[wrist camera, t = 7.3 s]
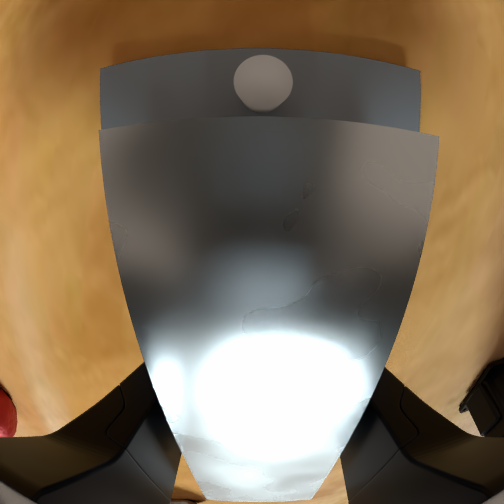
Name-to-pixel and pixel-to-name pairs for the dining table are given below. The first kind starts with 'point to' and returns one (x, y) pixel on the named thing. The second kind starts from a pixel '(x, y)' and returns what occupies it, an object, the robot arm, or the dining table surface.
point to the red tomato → (7, 416)
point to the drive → (266, 282)
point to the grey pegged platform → (260, 88)
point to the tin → (181, 501)
